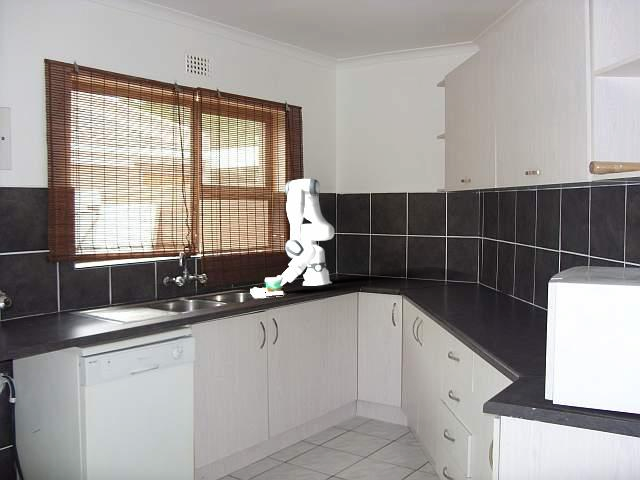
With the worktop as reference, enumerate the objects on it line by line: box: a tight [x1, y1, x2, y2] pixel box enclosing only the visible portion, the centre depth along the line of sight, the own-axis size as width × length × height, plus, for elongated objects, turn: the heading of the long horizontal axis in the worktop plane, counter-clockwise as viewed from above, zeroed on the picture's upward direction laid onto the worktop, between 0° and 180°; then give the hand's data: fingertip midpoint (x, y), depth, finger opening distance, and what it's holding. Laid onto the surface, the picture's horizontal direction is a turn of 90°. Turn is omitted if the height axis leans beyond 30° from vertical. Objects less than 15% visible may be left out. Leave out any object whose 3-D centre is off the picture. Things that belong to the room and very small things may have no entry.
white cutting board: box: [250, 286, 284, 299], centre depth 375 cm, size 23×16×3 cm
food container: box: [264, 275, 283, 293], centre depth 376 cm, size 12×6×10 cm, turn 145°
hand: (280, 285), depth 376 cm, fingers closed
